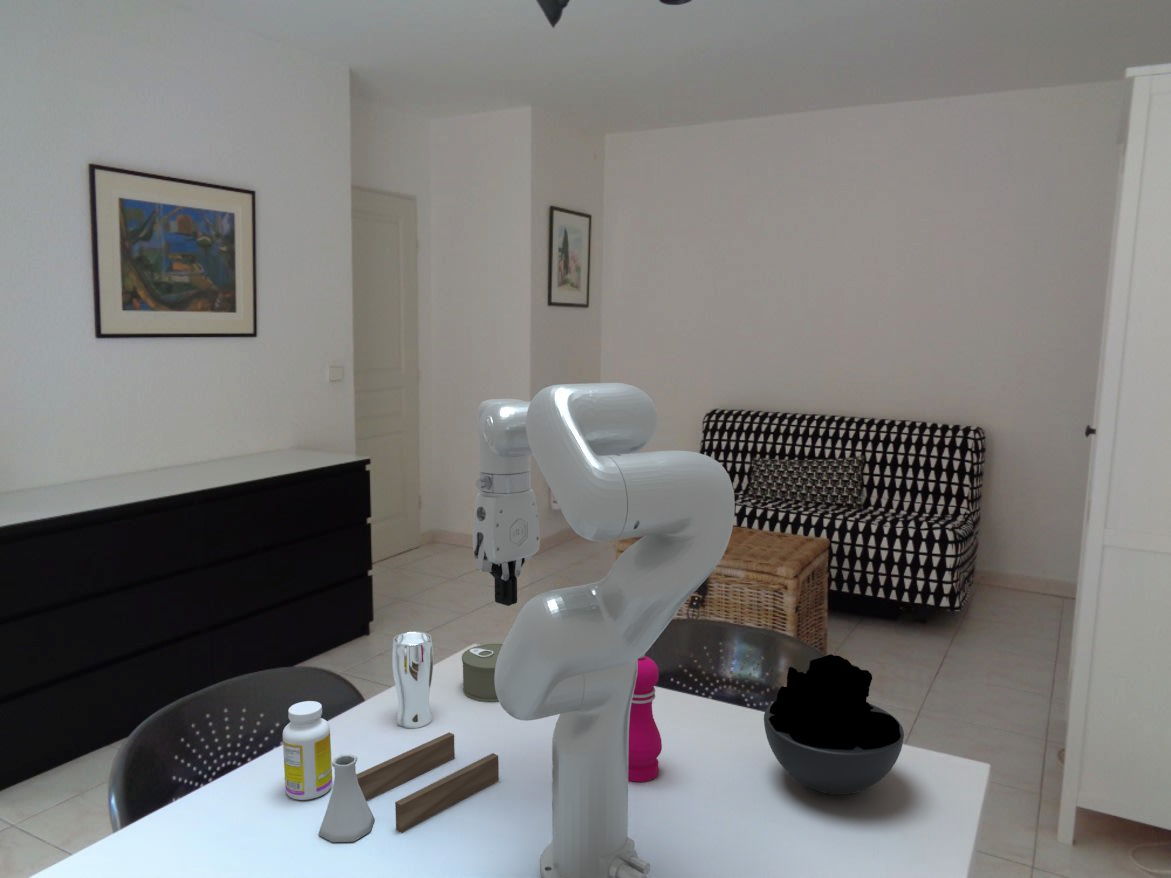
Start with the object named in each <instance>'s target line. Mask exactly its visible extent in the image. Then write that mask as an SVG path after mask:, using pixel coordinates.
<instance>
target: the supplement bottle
mask: <svg viewBox="0 0 1171 878" xmlns="http://www.w3.org/2000/svg"><path fill="white" fill-rule="evenodd" d="M287 712H288V717H287V718H288V719H289V721H290V722H289V723H288V724H287V725H286V726H284V728H283V730H282V747H283V749H282V751H283V767H284V768H283V769H284V772H283V773H284V785H285V787H284V788H285V791H286V795H287V796H288V797H290V798H291V799H293V800H299V801H306V800H312V799H317V798H319V797H322V796H323V795H326V793H328V792H329V791H330V790H331V788H332V786H333V766H332V762H333V760H332V745H331V742H332V741H331V730H330V729H331V727H330V724H329V722H328V721H327V720H326V719H325V718H322V715H323V707H322V704H321V703H320V702H318V701H316V700H314V701H313V700H306V701H300V702H297V703H294V704H292V705H291V706H290V707H289V708H288V711H287Z"/></svg>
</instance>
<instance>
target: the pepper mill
mask: <svg viewBox="0 0 1171 878" xmlns="http://www.w3.org/2000/svg"><path fill="white" fill-rule="evenodd" d="M637 660H638V670H637V679H636V684H635V689H634V693H633V698H632V704H631V710H630V721H629V753H628V782H629V781H630V782H633V783H634V782H635V783H643V782H649V781H651V780H652V781H653V780H654V779H655V778H657V776H658V775H659V760H658V758H659V756H660V755H661V753H662V750H663V744H662V743H663V742H662V737H661V734H660V731H659V728H658V725H657V723H656V722H655V721H656V720H655V718H654V714H653V701H654V700H655V699H656V688H655V686H656V685H657V683H658V681H659V677H660V676H659V675H660V672H659V668H658V665H657V664H656V662H655V661H654V660H653V659H652V658H650V657H648V656H646V653H645V654H644V655H642V656H641V657H640V658H638V659H637Z"/></svg>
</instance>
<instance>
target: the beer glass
mask: <svg viewBox="0 0 1171 878" xmlns="http://www.w3.org/2000/svg"><path fill="white" fill-rule="evenodd" d="M432 639H433V638H432V635H431V634H429V633H428V632H424V631H407V632H403V633H399V634H397V635H395V636H394V637H393V638H392V654H391V656H392V659H391V661H392V662H391V665H392V674H393V679H394V685H395V689H396V693H397V701H398V704H397V705H398V706H397V715H396V724H397V726H399V727H401V728H405V729H418V728H422V727H425V726H428V725H429V724H430V723H431V722H432V721H433V716H432V709H431V704H430V694H431V693H430V692H431V688H432V687H431V686H432V680H433V673H434V650H433V641H432Z"/></svg>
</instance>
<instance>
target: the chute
mask: <svg viewBox="0 0 1171 878" xmlns="http://www.w3.org/2000/svg"><path fill="white" fill-rule="evenodd" d="M455 754H456V753H455V734H454V733H452V732H447V733H445V734H443V735H440V736H437V737H436V738H434V739H431V740H429V741H427V742H424V743H422V744H420V745H418V746H416V747H414V748H411V749H409V750H407V751H405V752H403V753H401V754H398V755H396V756H394V757H392V758H389V759H387V760H385V761H383V762H380V763H378V764H376V765H374V766H372V767H370V768H367V769H365V770H364V771H361V772H358V773H356V775H357V780H358V784H359V786H360V788H361V791H362V793H363V795H364V797H365V800H366V802H368V801H370V800H372V799H374V798H377V797H378V796H381V795H382V794H384V793H386V792H388V791H390V790H392V789H395V788H397V787H398V786H401V785H404V783H407V782H409V781H411V780H413V779H415V778H417V777H420V776H422V775H424V774H426V773H427V772H431V770H433V769H436V768H438V767H440V766H442V765H444V764H446V763H448V762H450V761H452V760H454V759H456V757H455ZM499 775H500V773H499V755H498V754H496V753H494V752H493V753H490V754H488V755H486V756H483V758H480V759H478V760H476V761H474V762H472V763H470V764H467V765H466V766H464V767H462V768H461V769H458V770H456V771H454V772H452V773H450V774H448V775H446V776H444V777H443V778H441V779H438V780H436V781H434V782H432V783H430V784H428V785H427V786H424V787H422V788H421V789H418V790H417V791H414V792H412V793H410V794H408V795H407V796H405V797H403V798H400V799H399V800H396V801H395V802H394V804H395V805H394V807H395V808H394V810H395V830H396V831H398V832H400V833H404V832H406V831H408V830H410V829H412V828H414V827H415V826H417V825H419V824H420V823H423V822H425V821H426V820H428V819H430V818H431V817H433V816H437V814H439V813H441V812H443V811H444V810H446V809H449V808H450V807H452V806H454V805H456V804H458V803H460V802H461V801H463V800H465V799H467V798H469V797H471V796H473V795H474V794H477V793H478V792H480V791H482V790H484V789H486V788H488V787H490V786H491V785H493V784H495V783H496V782H498V781H500V780H499Z"/></svg>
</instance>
